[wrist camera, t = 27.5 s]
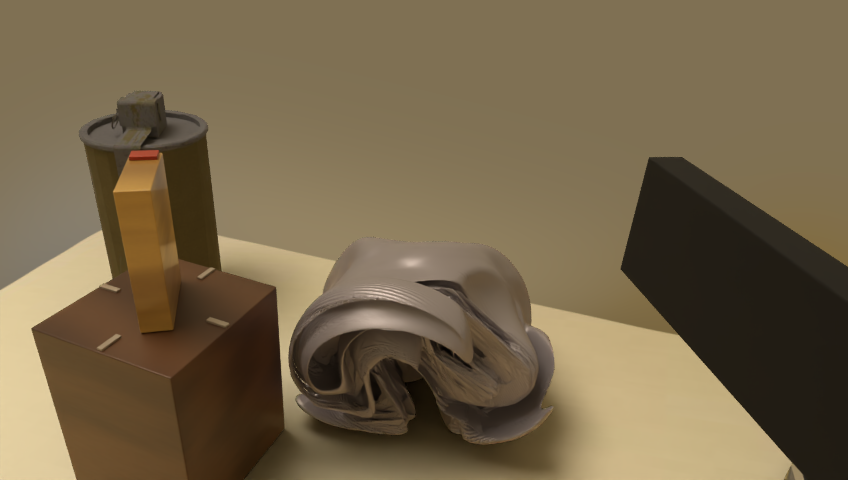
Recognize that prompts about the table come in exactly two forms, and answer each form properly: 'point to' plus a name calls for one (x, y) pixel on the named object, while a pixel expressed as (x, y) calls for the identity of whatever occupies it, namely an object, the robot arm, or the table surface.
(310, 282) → the table surface
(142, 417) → the walnut box
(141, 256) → the wooden red-tipped block
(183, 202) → the canister
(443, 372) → the grey shiny folded piece
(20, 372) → the table surface
